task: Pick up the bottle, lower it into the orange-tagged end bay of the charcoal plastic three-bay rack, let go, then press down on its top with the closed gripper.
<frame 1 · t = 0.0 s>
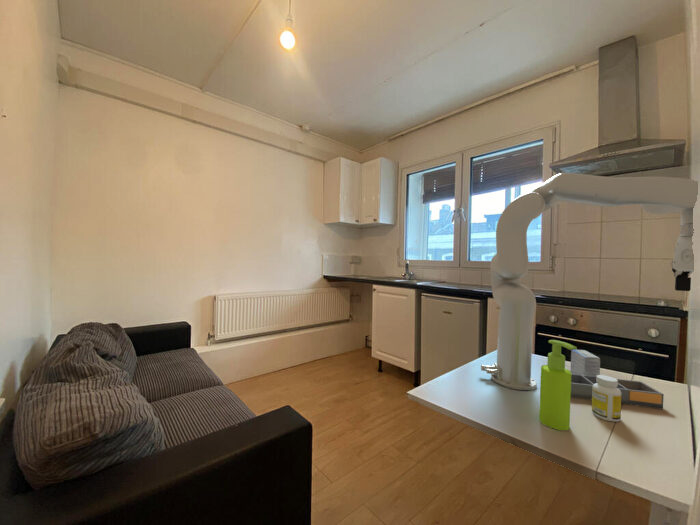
hand: (698, 292, 77), 31 cm above the table, tool pointing down, fingers open, 9 cm apart
supplement bottle: (605, 417, 71), on the table
rack: (602, 395, 82), on the table
medicine box: (584, 379, 93), on the table
soap dispenser: (556, 425, 67), on the table
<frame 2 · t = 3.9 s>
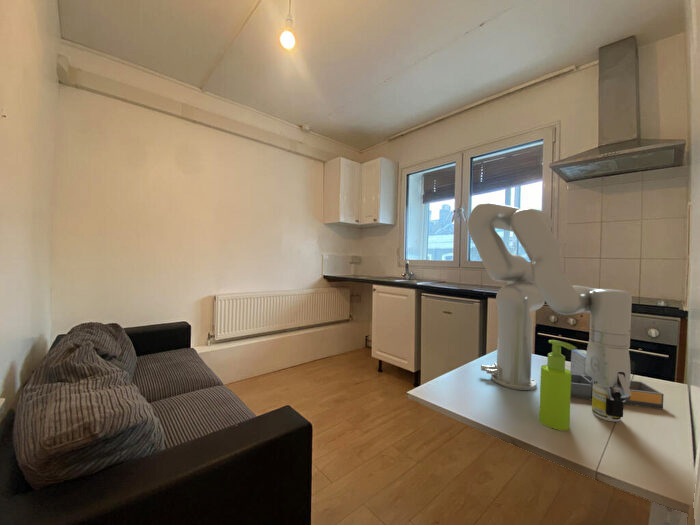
hand: (606, 408, 71), 2 cm above the table, tool pointing down, fingers closed on supplement bottle, 5 cm apart
supplement bottle: (605, 417, 71), on the table, touching gripper
everything else where it was.
when the fingers open (5 cm above the table, at t = 9.2 s): supplement bottle drops 1 cm, resting on rack.
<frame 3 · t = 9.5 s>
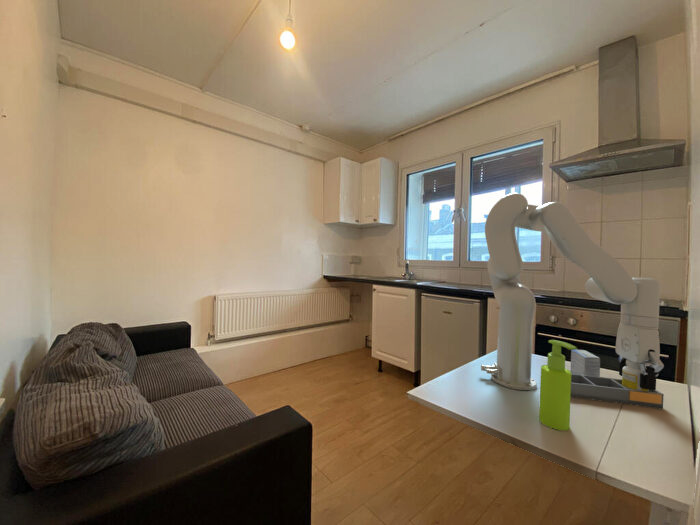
hand: (636, 381, 79), 5 cm above the table, tool pointing down, fingers open, 7 cm apart
supplement bottle: (634, 395, 80), point 1 cm above the table, touching rack
everything else where it was.
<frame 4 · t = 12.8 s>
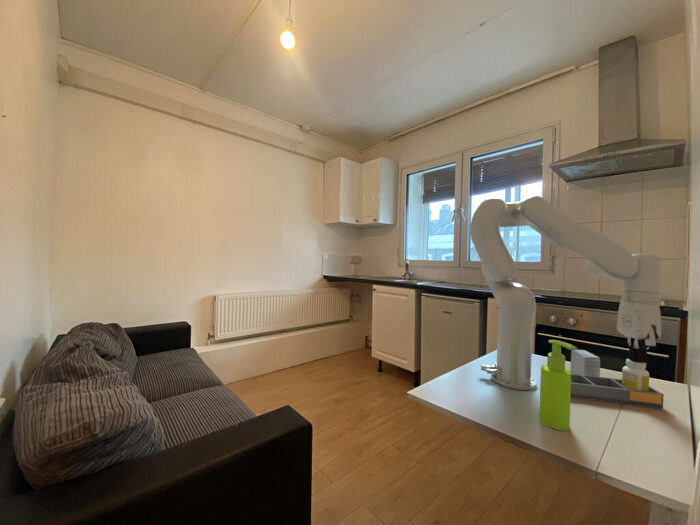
hand: (637, 361, 79), 11 cm above the table, tool pointing down, fingers closed
supplement bottle: (634, 395, 80), point 1 cm above the table, touching gripper, rack
everything else where it was.
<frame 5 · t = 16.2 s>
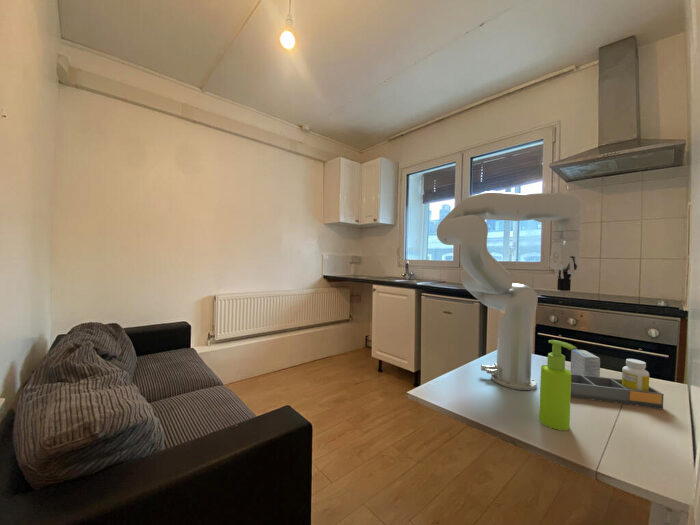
hand: (563, 290, 96), 29 cm above the table, tool pointing down, fingers closed
supplement bottle: (634, 395, 80), point 1 cm above the table, touching rack
everything else where it was.
at the end: supplement bottle 0.4 cm from the target spot on the rack, point 1.0 cm above the rack's base; supplement bottle tilted 0°; the gripper is holding nothing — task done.
